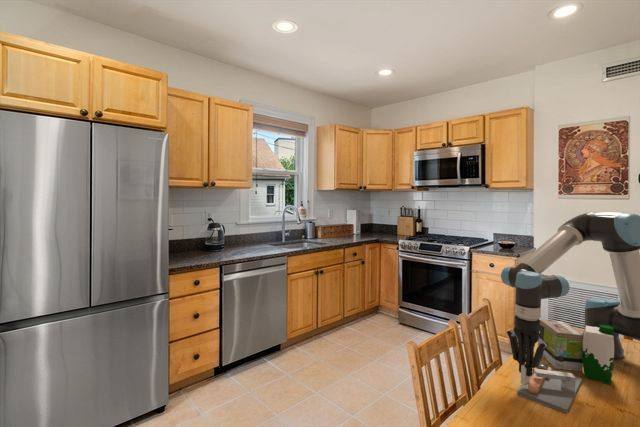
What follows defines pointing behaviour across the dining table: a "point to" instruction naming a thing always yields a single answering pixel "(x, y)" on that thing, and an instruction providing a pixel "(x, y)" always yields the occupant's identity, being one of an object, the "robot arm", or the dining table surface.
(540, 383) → the link
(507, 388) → the dining table surface
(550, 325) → the tea box
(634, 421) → the dining table surface
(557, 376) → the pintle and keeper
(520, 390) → the board
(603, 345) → the milk carton
